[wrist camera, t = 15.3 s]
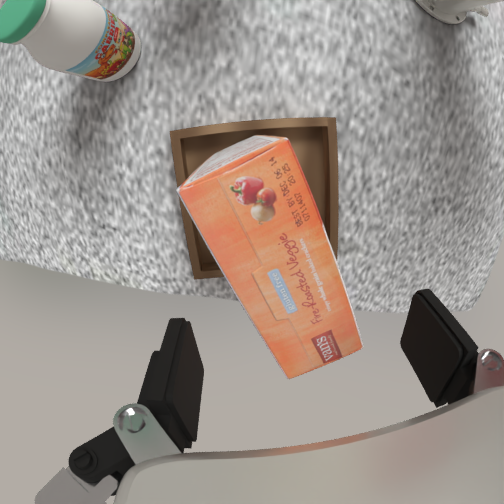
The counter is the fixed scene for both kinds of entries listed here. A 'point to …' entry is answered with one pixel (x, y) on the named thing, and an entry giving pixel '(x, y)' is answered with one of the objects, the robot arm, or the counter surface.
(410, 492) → the robot arm
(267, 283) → the cracker box
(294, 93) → the counter surface
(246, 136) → the walnut tray
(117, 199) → the counter surface
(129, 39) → the milk bottle
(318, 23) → the counter surface
